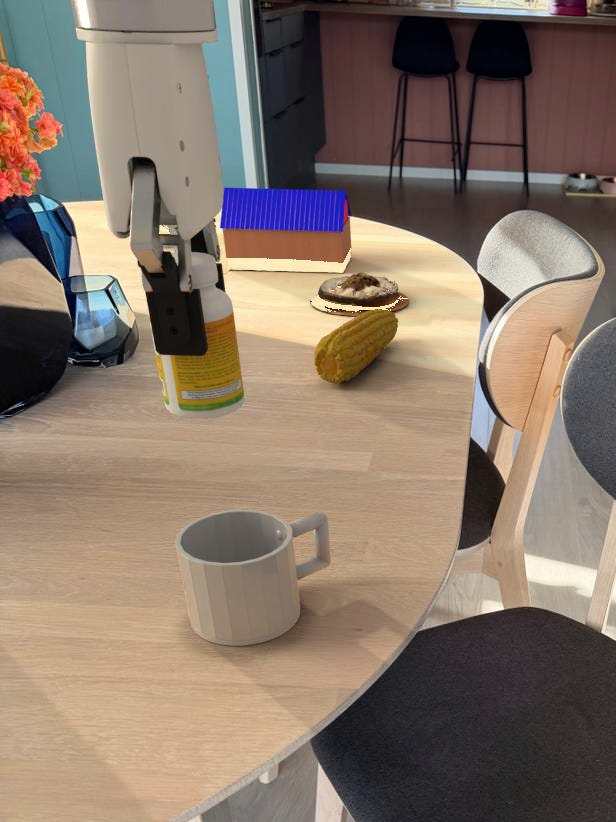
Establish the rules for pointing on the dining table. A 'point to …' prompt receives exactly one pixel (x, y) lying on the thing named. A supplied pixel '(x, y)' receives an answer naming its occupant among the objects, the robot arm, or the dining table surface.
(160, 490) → the dining table surface
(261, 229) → the house
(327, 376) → the food
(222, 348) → the supplement bottle
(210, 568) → the coffee mug
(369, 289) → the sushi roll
